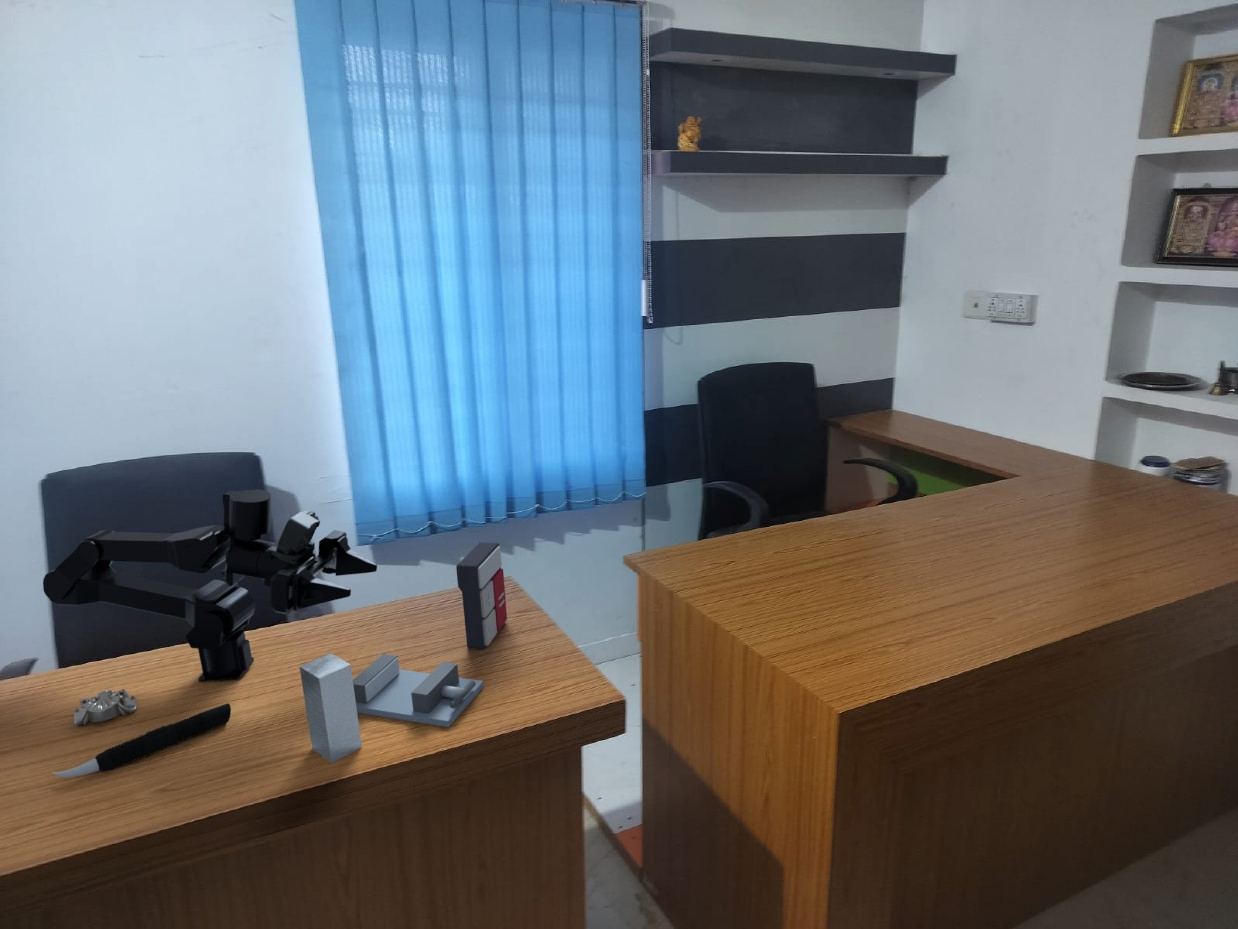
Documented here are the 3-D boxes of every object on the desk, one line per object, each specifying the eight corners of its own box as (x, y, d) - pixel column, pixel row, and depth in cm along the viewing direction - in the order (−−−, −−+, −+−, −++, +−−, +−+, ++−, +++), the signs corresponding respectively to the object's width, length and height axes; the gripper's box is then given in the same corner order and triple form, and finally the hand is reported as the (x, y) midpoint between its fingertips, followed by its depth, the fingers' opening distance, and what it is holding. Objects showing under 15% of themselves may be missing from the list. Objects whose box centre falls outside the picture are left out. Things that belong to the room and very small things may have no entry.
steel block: (331, 763, 109) (319, 678, 105) (312, 749, 112) (299, 666, 109) (361, 747, 112) (350, 664, 109) (342, 733, 115) (330, 653, 112)
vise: (338, 709, 121) (335, 685, 120) (381, 672, 131) (378, 649, 130) (449, 727, 116) (446, 702, 115) (484, 687, 126) (482, 663, 125)
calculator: (488, 651, 137) (480, 566, 133) (463, 649, 138) (455, 565, 134) (509, 621, 147) (503, 542, 143) (486, 619, 148) (479, 541, 144)
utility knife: (61, 795, 105) (56, 775, 104) (54, 781, 107) (49, 761, 107) (235, 724, 119) (232, 705, 118) (225, 713, 122) (222, 695, 121)
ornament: (138, 697, 127) (134, 676, 126) (136, 719, 121) (131, 697, 120) (77, 712, 124) (72, 690, 123) (72, 735, 118) (67, 712, 117)
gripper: (232, 533, 115) (338, 554, 114) (299, 493, 133) (392, 510, 132) (231, 605, 119) (334, 626, 117) (297, 556, 136) (387, 574, 135)
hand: (363, 580), depth 125 cm, fingers open, 9 cm apart
